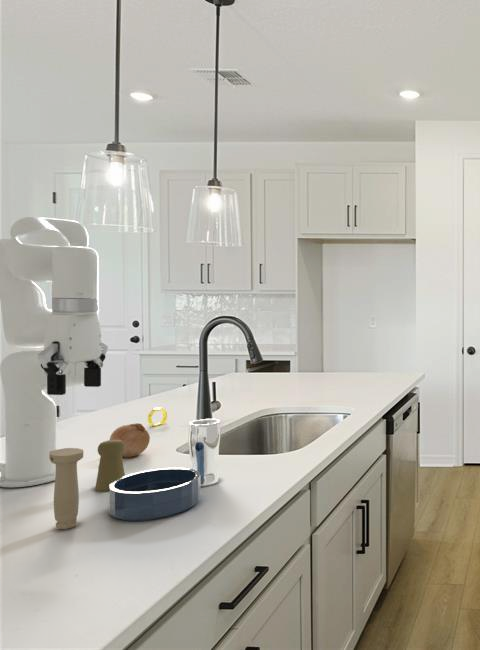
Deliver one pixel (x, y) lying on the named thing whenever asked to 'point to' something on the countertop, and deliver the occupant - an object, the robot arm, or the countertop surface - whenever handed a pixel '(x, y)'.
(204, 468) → the beer glass
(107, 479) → the olive tapered shaker
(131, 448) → the onion
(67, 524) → the handle
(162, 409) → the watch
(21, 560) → the countertop surface
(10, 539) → the countertop surface
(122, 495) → the bowl
